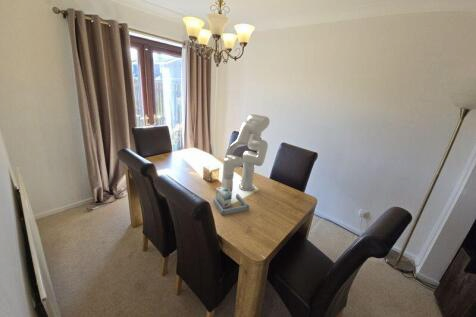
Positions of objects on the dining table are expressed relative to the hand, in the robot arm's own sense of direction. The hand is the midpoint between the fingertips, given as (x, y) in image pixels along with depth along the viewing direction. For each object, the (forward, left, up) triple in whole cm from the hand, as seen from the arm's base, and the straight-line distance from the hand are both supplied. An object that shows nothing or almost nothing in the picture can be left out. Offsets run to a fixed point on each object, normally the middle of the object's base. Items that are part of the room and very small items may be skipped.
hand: (226, 198), depth 148 cm
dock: (+8, 0, -1) cm, 8 cm away
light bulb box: (+4, -4, -2) cm, 6 cm away
